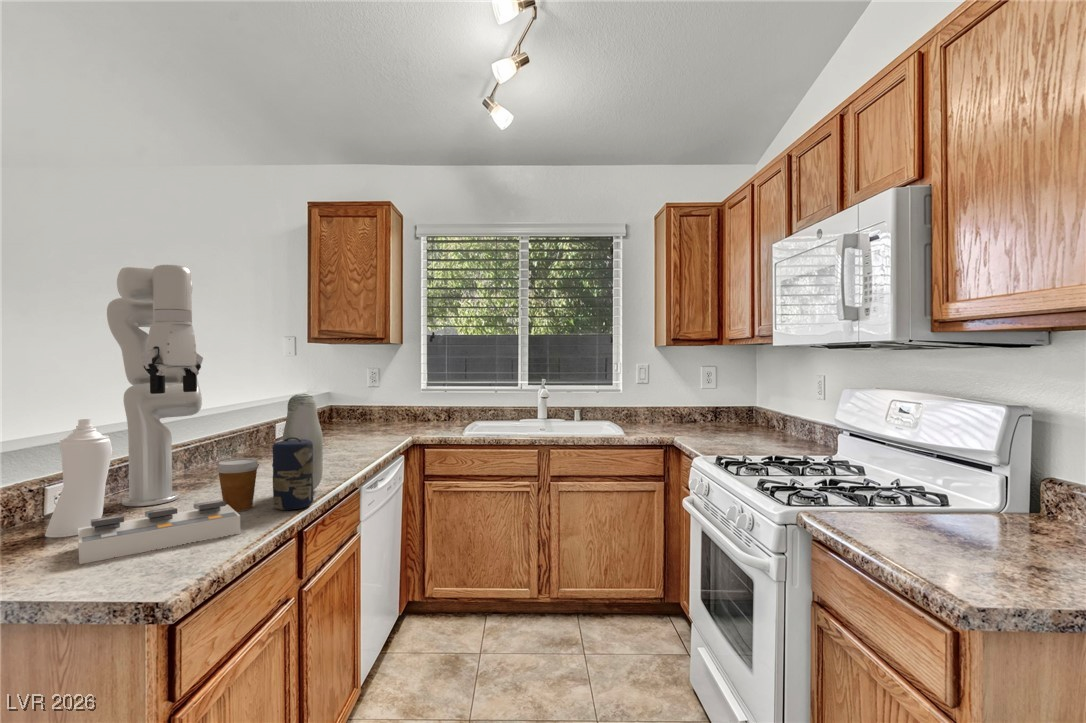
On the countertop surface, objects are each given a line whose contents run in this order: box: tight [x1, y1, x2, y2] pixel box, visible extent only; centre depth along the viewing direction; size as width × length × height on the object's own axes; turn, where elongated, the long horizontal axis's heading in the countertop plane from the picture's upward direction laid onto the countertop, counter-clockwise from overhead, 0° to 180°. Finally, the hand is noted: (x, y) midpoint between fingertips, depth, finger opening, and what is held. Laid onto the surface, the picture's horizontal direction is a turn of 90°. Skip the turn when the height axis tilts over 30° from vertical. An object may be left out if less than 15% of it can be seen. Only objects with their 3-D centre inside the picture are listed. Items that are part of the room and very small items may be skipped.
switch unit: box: [77, 505, 241, 565], centre depth 117 cm, size 12×27×5 cm, turn 131°
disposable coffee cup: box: [216, 457, 260, 512], centre depth 142 cm, size 10×10×12 cm
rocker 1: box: [91, 514, 125, 527], centre depth 113 cm, size 7×5×1 cm
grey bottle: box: [282, 393, 324, 491], centre depth 158 cm, size 10×10×28 cm
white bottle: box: [44, 418, 113, 539], centre depth 124 cm, size 12×11×25 cm
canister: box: [271, 437, 314, 511], centre depth 143 cm, size 10×10×18 cm
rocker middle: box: [144, 506, 178, 518], centre depth 119 cm, size 7×5×1 cm
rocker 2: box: [193, 499, 226, 510], centre depth 124 cm, size 7×5×1 cm
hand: (174, 392), depth 129 cm, fingers open, 9 cm apart
